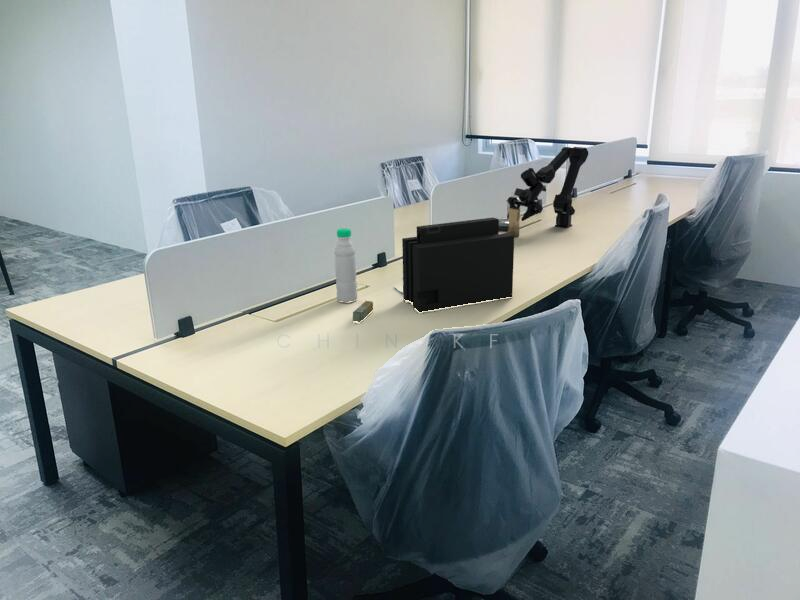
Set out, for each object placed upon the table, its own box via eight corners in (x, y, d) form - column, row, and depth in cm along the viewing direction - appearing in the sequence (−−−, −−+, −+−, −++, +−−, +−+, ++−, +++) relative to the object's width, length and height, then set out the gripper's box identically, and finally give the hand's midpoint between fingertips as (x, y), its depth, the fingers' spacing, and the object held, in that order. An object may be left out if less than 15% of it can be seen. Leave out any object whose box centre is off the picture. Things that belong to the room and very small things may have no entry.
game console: (419, 314, 216) (418, 233, 207) (384, 288, 242) (381, 215, 233) (512, 298, 229) (514, 221, 220) (468, 275, 255) (469, 206, 246)
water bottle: (337, 297, 233) (333, 227, 225) (357, 296, 233) (354, 226, 225) (336, 304, 226) (333, 232, 218) (357, 303, 227) (354, 231, 219)
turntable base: (518, 227, 331) (518, 224, 330) (507, 231, 324) (507, 228, 323) (501, 225, 337) (501, 222, 336) (490, 228, 330) (490, 225, 329)
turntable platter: (522, 223, 330) (523, 221, 330) (508, 228, 321) (508, 225, 321) (500, 220, 338) (500, 217, 338) (486, 225, 329) (486, 222, 329)
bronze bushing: (521, 236, 314) (522, 208, 310) (515, 238, 310) (516, 210, 306) (511, 234, 317) (512, 207, 313) (506, 236, 313) (507, 208, 309)
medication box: (360, 325, 208) (360, 312, 207) (352, 324, 209) (352, 312, 207) (373, 312, 219) (373, 300, 217) (365, 311, 220) (365, 300, 218)
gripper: (510, 179, 316) (492, 205, 314) (539, 184, 301) (520, 211, 299) (522, 194, 323) (504, 219, 320) (550, 199, 308) (532, 226, 306)
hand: (514, 218), depth 311 cm, fingers open, 9 cm apart
